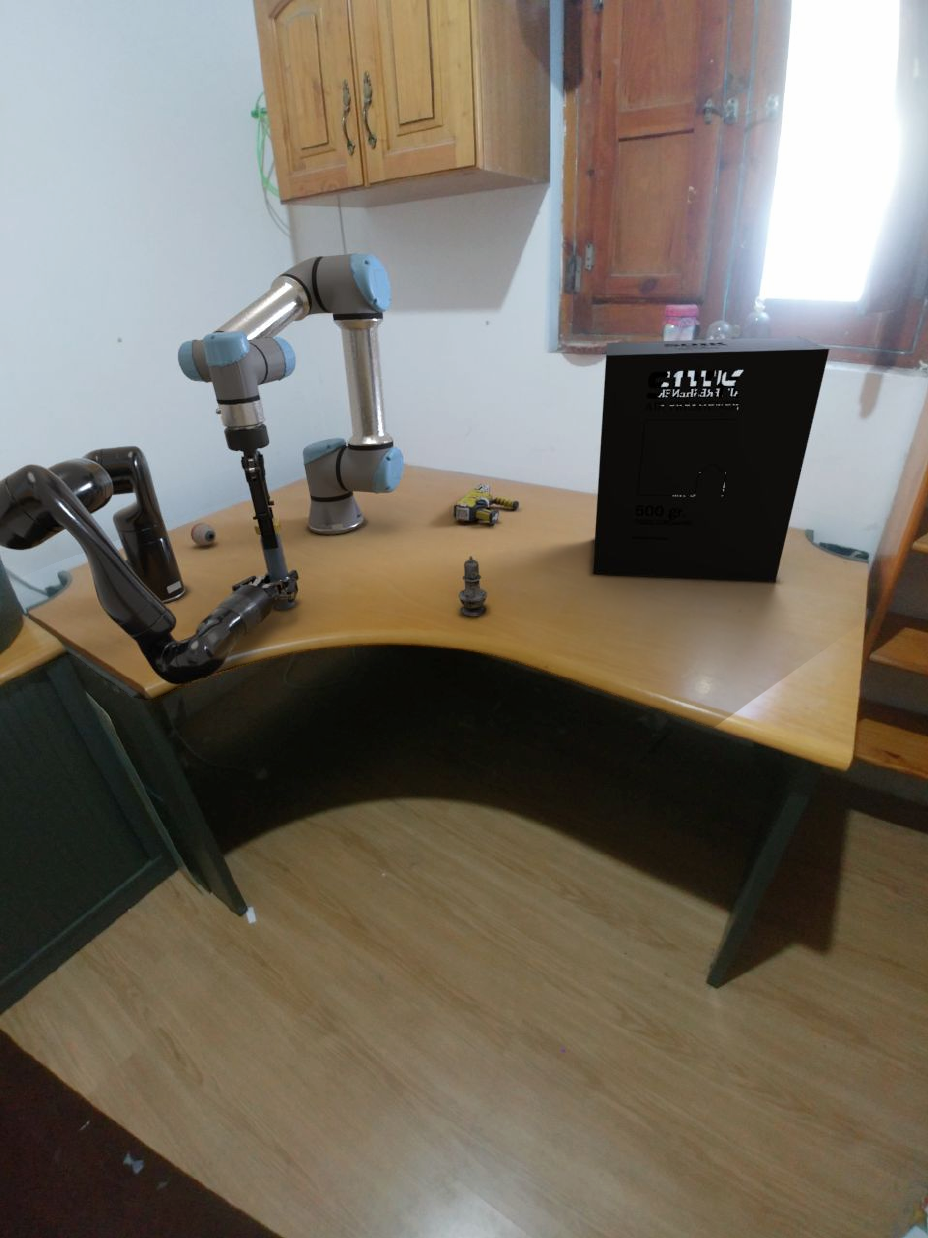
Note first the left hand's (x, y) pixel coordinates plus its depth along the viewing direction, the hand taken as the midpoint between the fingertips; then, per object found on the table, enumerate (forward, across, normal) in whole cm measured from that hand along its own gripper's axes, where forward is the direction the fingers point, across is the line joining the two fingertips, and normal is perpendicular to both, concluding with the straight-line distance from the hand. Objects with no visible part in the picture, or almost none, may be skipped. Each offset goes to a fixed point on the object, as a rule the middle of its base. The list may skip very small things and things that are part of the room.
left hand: (285, 573), depth 128 cm
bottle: (-3, 0, +6) cm, 7 cm away
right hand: (-3, 0, -8) cm, 9 cm away
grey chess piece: (+1, -41, +6) cm, 41 cm away
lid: (-3, 0, -12) cm, 13 cm away
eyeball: (+25, +38, +6) cm, 46 cm away
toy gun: (+58, -33, +6) cm, 67 cm away
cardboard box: (+32, -82, +6) cm, 88 cm away
